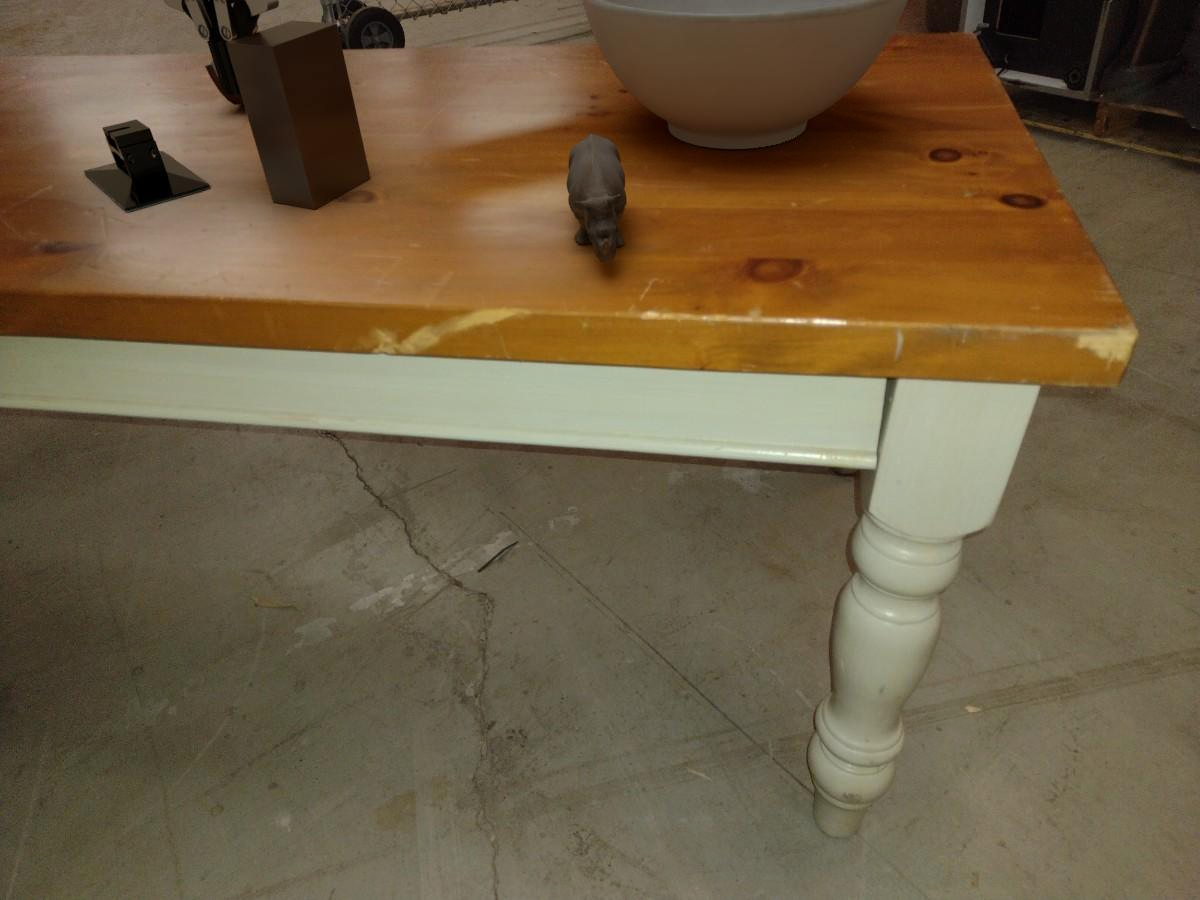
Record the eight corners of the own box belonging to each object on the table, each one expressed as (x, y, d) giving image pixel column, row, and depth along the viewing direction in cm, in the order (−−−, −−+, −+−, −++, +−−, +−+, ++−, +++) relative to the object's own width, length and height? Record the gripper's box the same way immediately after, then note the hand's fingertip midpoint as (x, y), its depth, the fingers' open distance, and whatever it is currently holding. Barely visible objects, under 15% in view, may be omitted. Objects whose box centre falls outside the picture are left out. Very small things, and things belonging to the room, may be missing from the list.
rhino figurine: (572, 289, 56) (565, 198, 52) (569, 204, 66) (563, 125, 63) (635, 284, 56) (633, 194, 52) (622, 201, 66) (619, 121, 63)
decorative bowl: (629, 80, 92) (626, -50, 84) (893, 87, 85) (914, -53, 78) (549, 172, 72) (535, 12, 64) (886, 191, 65) (914, 15, 58)
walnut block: (272, 202, 70) (225, 42, 63) (329, 172, 75) (292, 20, 67) (315, 209, 68) (272, 46, 61) (371, 178, 73) (337, 23, 66)
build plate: (84, 175, 78) (62, 122, 75) (166, 154, 81) (148, 103, 78) (126, 212, 70) (102, 154, 67) (214, 187, 73) (196, 131, 71)
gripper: (38, -188, 58) (143, 97, 69) (199, -199, 52) (284, 113, 64) (129, -194, 63) (213, 71, 75) (285, -205, 58) (350, 84, 69)
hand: (245, 89), depth 69 cm, fingers closed
